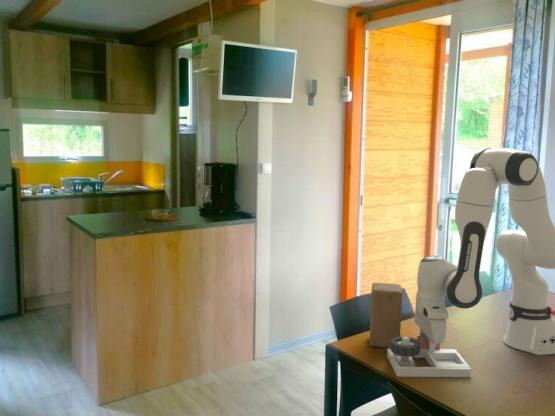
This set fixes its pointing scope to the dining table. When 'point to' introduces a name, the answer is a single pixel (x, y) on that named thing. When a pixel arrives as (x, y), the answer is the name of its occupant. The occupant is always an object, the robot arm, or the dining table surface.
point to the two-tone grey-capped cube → (425, 341)
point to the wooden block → (385, 314)
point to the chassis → (430, 363)
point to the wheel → (405, 347)
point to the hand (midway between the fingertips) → (427, 346)
